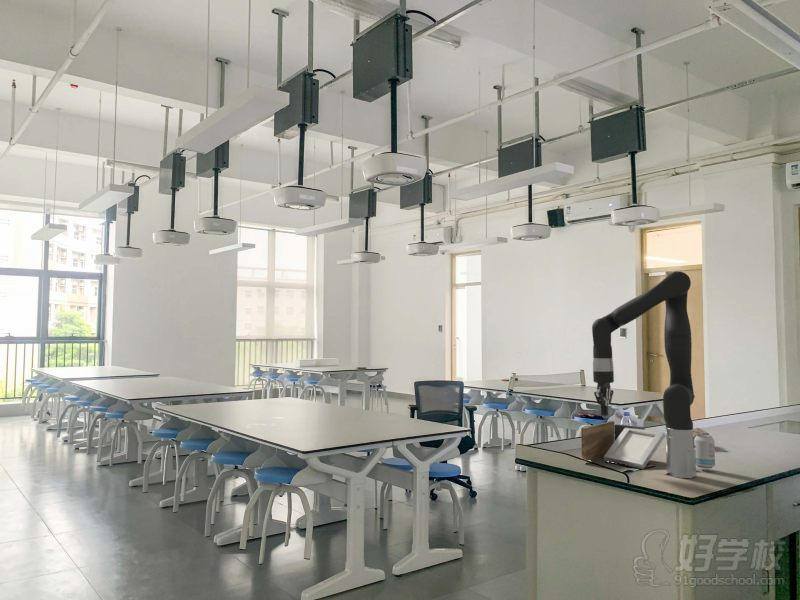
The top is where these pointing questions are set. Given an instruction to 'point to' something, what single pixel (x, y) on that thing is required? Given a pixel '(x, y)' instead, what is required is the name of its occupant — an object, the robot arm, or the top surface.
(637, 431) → the picture frame
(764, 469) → the top surface
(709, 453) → the beverage can
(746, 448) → the top surface
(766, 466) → the top surface
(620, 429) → the bookend
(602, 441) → the shelf back
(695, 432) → the pumice stone
